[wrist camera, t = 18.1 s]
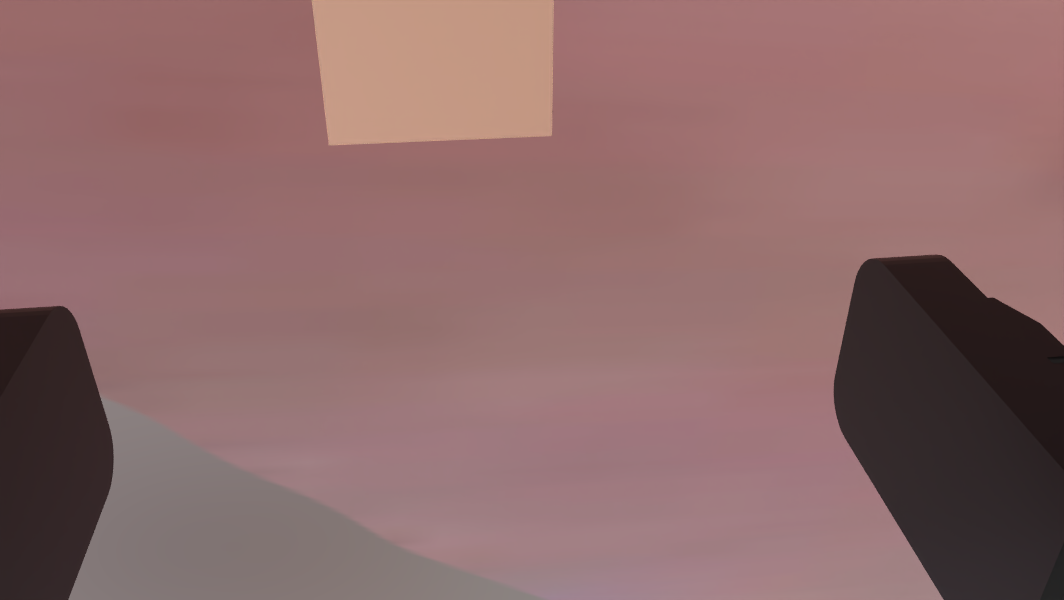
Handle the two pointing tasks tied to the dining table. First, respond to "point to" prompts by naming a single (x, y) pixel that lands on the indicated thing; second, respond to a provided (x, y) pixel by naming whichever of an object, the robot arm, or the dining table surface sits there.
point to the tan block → (435, 69)
